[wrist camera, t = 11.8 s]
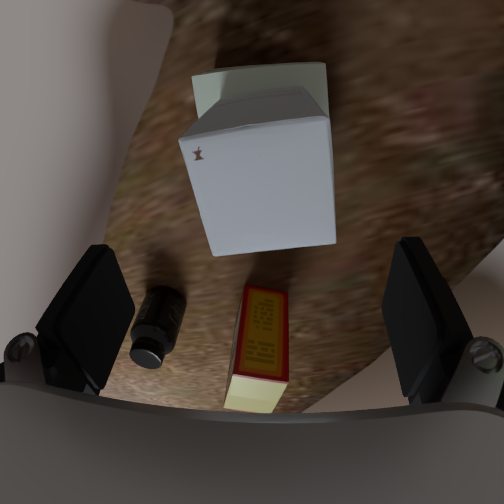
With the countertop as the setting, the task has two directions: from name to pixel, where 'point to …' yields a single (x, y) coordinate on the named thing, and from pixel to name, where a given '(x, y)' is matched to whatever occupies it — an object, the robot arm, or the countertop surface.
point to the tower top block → (260, 82)
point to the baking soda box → (259, 352)
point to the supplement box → (263, 172)
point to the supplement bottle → (156, 326)
